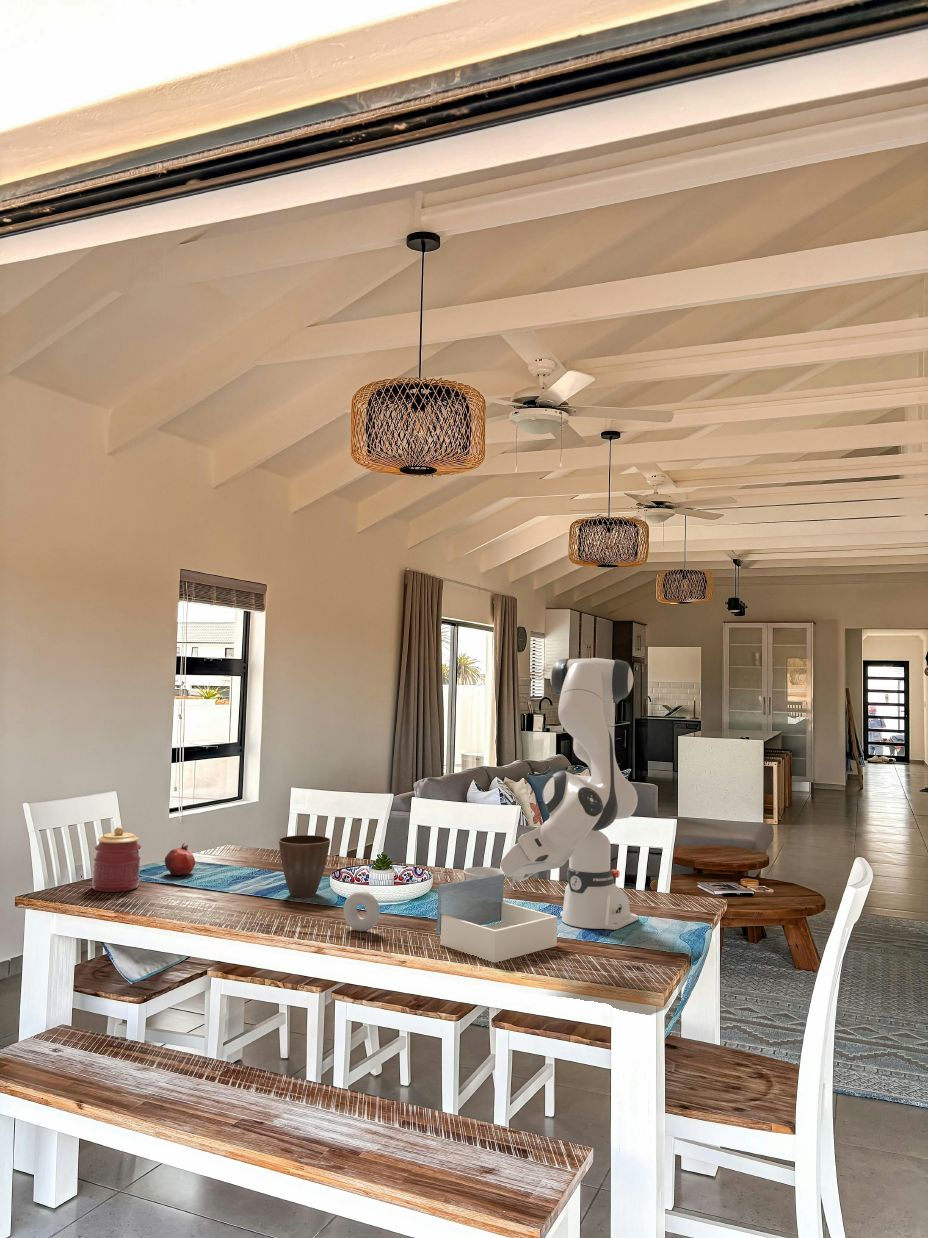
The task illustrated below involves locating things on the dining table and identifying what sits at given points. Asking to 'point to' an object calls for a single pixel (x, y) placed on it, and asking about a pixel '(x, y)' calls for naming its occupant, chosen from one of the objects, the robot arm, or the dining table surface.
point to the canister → (116, 862)
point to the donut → (371, 909)
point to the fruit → (180, 861)
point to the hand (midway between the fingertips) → (519, 878)
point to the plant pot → (303, 862)
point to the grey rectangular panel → (471, 900)
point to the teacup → (486, 874)
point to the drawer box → (501, 934)
